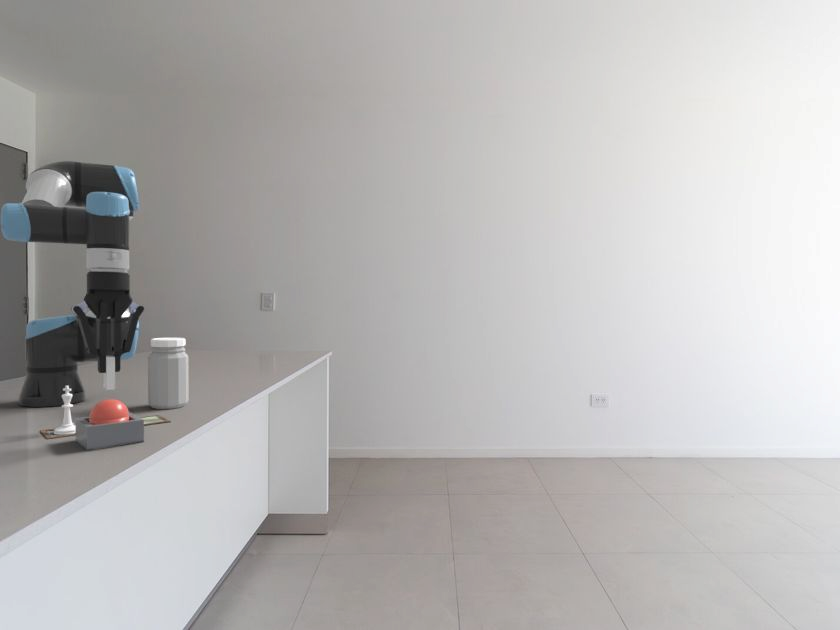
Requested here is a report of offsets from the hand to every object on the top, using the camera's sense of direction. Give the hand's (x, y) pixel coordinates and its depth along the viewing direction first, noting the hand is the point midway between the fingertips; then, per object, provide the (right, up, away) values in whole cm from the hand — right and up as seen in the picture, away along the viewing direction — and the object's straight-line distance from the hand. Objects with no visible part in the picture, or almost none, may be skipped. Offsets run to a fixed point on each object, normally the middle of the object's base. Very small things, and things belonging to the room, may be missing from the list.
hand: (109, 388), depth 112 cm
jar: (-4, -10, +36) cm, 38 cm away
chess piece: (-13, -11, +8) cm, 19 cm away
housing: (0, -11, +1) cm, 11 cm away
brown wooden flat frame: (-7, -10, +13) cm, 18 cm away
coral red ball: (0, -9, 0) cm, 9 cm away
